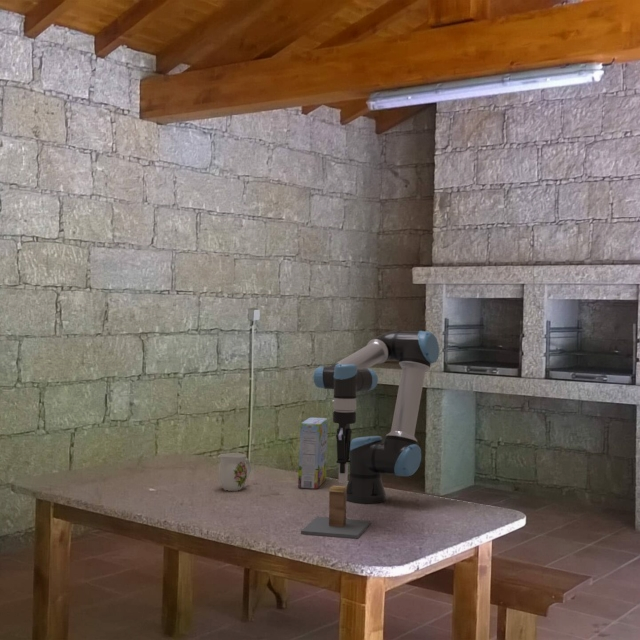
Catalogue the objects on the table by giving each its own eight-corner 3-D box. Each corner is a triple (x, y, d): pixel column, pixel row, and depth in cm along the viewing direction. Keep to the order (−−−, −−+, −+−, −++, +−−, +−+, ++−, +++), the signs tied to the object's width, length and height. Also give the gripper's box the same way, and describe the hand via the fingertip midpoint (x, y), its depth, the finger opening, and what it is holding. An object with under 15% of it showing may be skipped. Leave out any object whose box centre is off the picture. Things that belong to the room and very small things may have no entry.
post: (332, 522, 279) (332, 485, 279) (345, 523, 278) (346, 486, 278) (328, 525, 275) (329, 488, 275) (342, 526, 274) (343, 489, 274)
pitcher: (260, 487, 339) (260, 452, 339) (228, 494, 325) (229, 458, 324) (239, 483, 346) (239, 449, 345) (207, 490, 331) (208, 454, 331)
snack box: (319, 489, 336) (320, 423, 336) (297, 488, 337) (298, 423, 337) (327, 479, 357) (328, 417, 357) (306, 478, 359) (307, 416, 359)
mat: (317, 519, 287) (317, 516, 287) (370, 523, 283) (370, 520, 283) (300, 534, 268) (301, 530, 268) (357, 538, 264) (357, 535, 264)
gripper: (337, 408, 291) (336, 478, 291) (328, 412, 279) (327, 485, 278) (359, 409, 289) (358, 480, 289) (351, 413, 277) (349, 487, 277)
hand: (342, 482), depth 284 cm, fingers closed
